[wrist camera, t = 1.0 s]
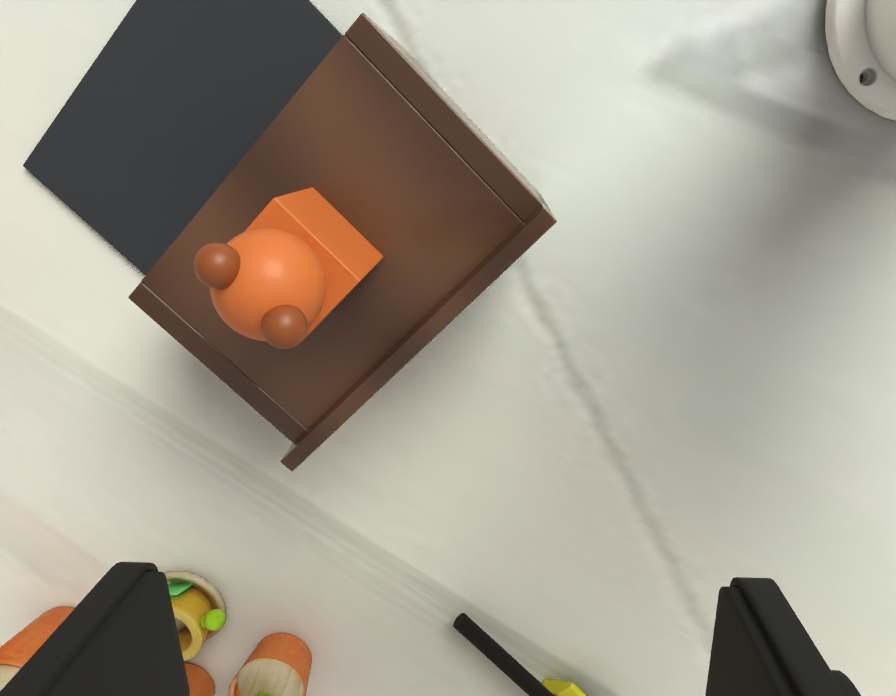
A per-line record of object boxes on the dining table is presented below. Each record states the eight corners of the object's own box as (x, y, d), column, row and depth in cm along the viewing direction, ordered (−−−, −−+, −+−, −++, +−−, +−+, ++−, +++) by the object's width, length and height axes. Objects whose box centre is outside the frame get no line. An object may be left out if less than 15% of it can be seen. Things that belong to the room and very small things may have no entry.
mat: (211, -103, 34) (208, -105, 34) (357, 51, 36) (355, 50, 36) (26, 165, 40) (22, 165, 40) (161, 285, 42) (158, 286, 42)
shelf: (399, 43, 36) (351, 2, 25) (541, 195, 38) (557, 221, 27) (213, 260, 41) (103, 308, 30) (347, 383, 43) (291, 472, 32)
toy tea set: (93, 745, 57) (15, 861, 48) (-5, 615, 53) (-110, 715, 44) (346, 679, 52) (313, 795, 43) (260, 529, 48) (202, 622, 39)
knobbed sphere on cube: (314, 184, 29) (227, 207, 20) (385, 255, 30) (333, 308, 21) (258, 247, 30) (153, 296, 21) (328, 313, 31) (256, 388, 22)
